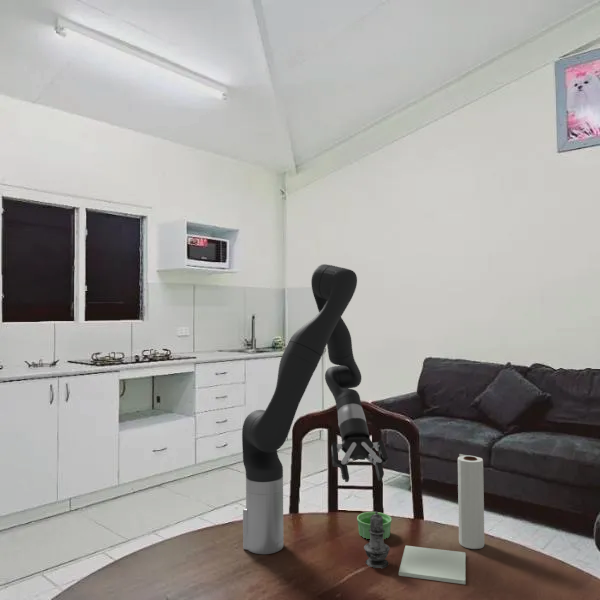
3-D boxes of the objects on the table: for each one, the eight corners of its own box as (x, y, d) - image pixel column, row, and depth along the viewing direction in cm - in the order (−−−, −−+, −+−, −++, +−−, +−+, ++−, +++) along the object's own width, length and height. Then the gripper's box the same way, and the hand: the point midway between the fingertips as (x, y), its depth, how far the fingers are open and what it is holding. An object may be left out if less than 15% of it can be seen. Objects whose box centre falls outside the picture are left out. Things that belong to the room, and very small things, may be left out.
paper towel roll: (483, 551, 130) (482, 462, 130) (457, 547, 132) (456, 459, 132) (485, 539, 136) (484, 454, 137) (460, 536, 139) (459, 452, 139)
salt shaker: (389, 570, 121) (388, 516, 121) (363, 568, 122) (362, 514, 122) (390, 558, 126) (389, 507, 127) (365, 556, 128) (364, 505, 128)
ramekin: (353, 529, 144) (353, 512, 144) (386, 527, 145) (386, 510, 145) (361, 543, 135) (361, 525, 135) (396, 541, 136) (396, 523, 136)
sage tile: (398, 575, 118) (398, 571, 118) (405, 548, 132) (405, 545, 132) (465, 584, 114) (465, 580, 114) (465, 555, 127) (465, 552, 127)
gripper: (328, 417, 144) (338, 473, 132) (380, 415, 145) (394, 470, 134) (325, 433, 149) (334, 488, 137) (375, 431, 151) (388, 485, 139)
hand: (364, 479), depth 135 cm, fingers open, 8 cm apart
